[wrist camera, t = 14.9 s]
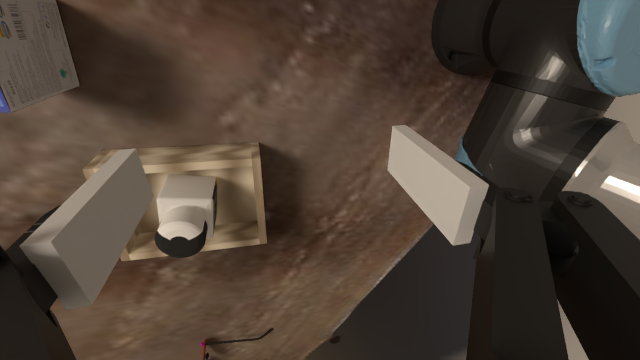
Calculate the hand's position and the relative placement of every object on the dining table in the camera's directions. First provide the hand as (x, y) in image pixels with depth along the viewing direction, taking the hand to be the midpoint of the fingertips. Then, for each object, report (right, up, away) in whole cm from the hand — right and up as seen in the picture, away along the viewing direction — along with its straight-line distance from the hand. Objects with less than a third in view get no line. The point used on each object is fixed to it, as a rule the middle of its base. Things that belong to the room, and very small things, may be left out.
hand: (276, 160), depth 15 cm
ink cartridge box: (-30, +15, +18) cm, 39 cm away
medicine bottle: (-18, -3, +31) cm, 36 cm away
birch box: (-18, -3, +32) cm, 37 cm away
